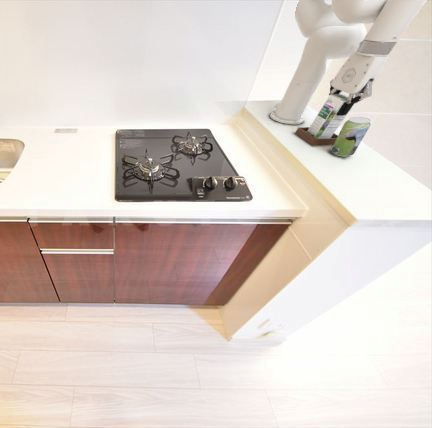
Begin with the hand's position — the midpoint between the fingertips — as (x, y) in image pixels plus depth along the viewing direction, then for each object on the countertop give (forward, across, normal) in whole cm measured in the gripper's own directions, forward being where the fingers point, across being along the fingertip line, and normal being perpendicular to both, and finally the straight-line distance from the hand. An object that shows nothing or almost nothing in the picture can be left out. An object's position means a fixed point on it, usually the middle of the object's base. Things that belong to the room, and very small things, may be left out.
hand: (334, 111), depth 79 cm
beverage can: (+11, +11, 0) cm, 15 cm away
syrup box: (+10, 0, 0) cm, 10 cm away
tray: (+10, 0, 0) cm, 10 cm away
